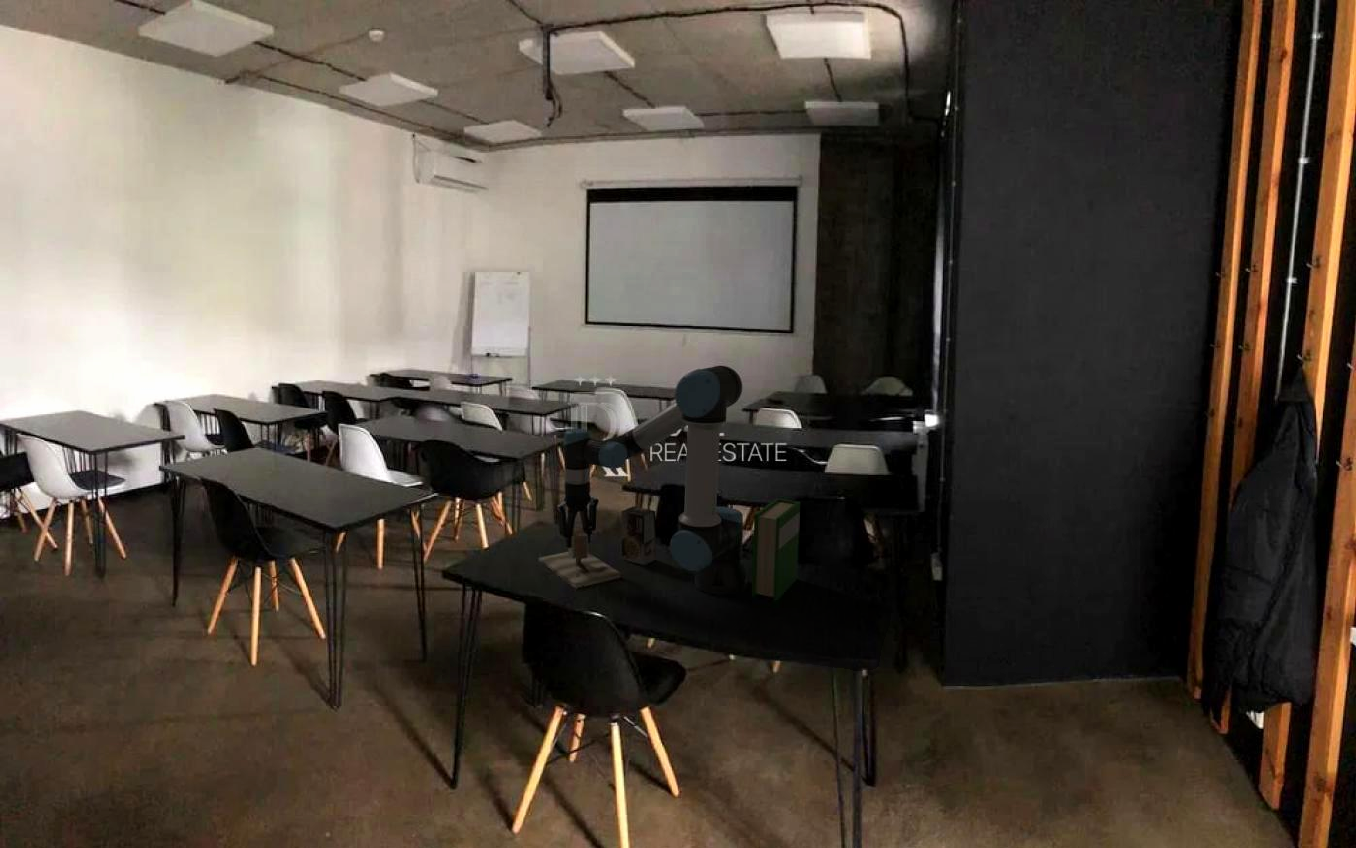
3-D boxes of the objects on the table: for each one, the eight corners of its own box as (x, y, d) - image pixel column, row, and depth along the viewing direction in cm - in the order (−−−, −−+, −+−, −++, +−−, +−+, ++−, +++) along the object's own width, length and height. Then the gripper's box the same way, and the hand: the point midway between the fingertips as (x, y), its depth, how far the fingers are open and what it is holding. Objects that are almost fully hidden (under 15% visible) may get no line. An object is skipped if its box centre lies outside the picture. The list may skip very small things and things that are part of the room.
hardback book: (776, 601, 213) (779, 518, 209) (751, 595, 217) (754, 514, 212) (796, 579, 229) (800, 501, 224) (773, 574, 232) (776, 498, 227)
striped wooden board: (620, 577, 228) (620, 571, 228) (575, 588, 220) (575, 582, 219) (581, 553, 248) (581, 547, 247) (538, 562, 239) (538, 557, 239)
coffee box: (656, 559, 243) (656, 510, 240) (644, 565, 238) (644, 515, 234) (632, 553, 248) (633, 505, 245) (620, 559, 242) (620, 510, 239)
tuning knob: (569, 560, 236) (569, 528, 234) (579, 559, 237) (578, 527, 235) (582, 575, 225) (581, 542, 223) (591, 573, 226) (591, 540, 224)
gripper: (595, 474, 236) (595, 546, 241) (545, 482, 226) (547, 557, 231) (608, 479, 230) (608, 553, 235) (558, 488, 220) (559, 565, 225)
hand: (578, 555), depth 233 cm, fingers closed on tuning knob, 4 cm apart
